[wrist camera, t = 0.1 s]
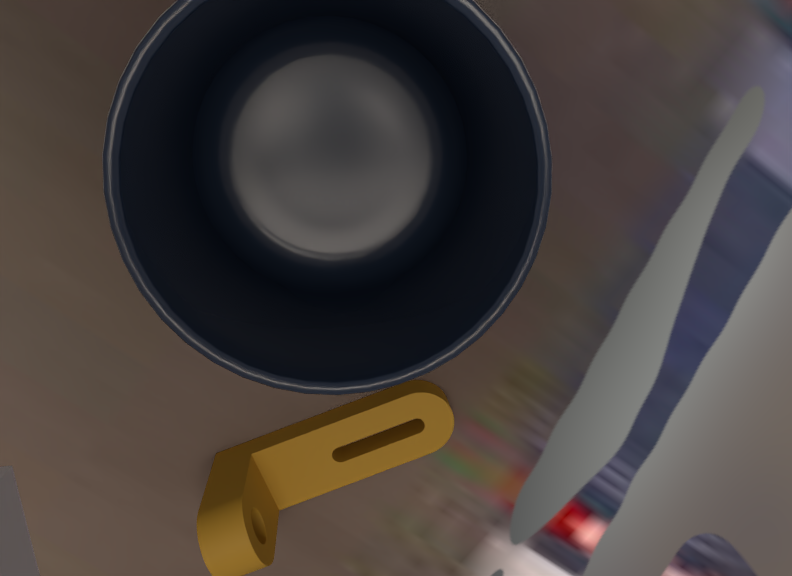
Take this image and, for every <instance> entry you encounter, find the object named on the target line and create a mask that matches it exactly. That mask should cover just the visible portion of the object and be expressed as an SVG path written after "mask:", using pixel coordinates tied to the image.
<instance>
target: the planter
mask: <svg viewBox="0 0 792 576" xmlns="http://www.w3.org/2000/svg"><path fill="white" fill-rule="evenodd" d="M102 162H103V192H104V197H105V202H106V207H107V212H108V218H109V223H110V227H111V230H112V233H113V236H114V238H115V241H116V244H117V247H118V249H119V252H120V255H121V258H122V260H123V262H124V264H125V266H126V268H127V269H128V271H129V273H130V275H131V277H132V278H133V280H134V282H135V284H136V286H137V288H138V289H139V291H140V292H141V294H142V295H143V296H144V298H145V299H146V300H147V302H148V303H149V304H150V305H151V307H152V308H153V309H154V311H155V312H156V313H157V315H158V316H159V317H160V318H161V320H163V321H164V322H165V323H166V324H167V325H168V326H169V327H170V328H171V329H172V330H173V331H174V332H175V333H176V334H177V335H178V336H179V337H180V338H181V339H182V340H183V341H184V342H185V343H187V344H188V345H190V346H191V347H192V348H194V349H195V350H197V351H198V352H199V353H201V354H202V355H204V356H205V357H206V358H208V359H209V360H211V361H212V362H214V363H216V364H218V365H220V366H222V367H224V368H225V369H227V370H229V371H231V372H233V373H235V374H237V375H239V376H241V377H243V378H246V379H249V380H252V381H255V382H258V383H261V384H264V385H267V386H270V387H273V388H277V389H283V390H288V391H294V392H299V393H304V394H324V395H343V394H353V393H363V392H371V391H375V390H379V389H383V388H387V387H391V386H395V385H399V384H402V383H404V382H407V381H409V380H412V379H414V378H416V377H419V376H421V375H424V374H426V373H429V372H431V371H432V370H434V369H436V368H437V367H439V366H441V365H443V364H444V363H446V362H448V361H449V360H451V359H453V358H455V357H456V356H458V355H459V354H460V353H461V352H463V351H464V350H465V349H466V348H468V347H469V346H470V345H471V344H473V343H474V342H475V341H476V340H478V339H479V338H480V337H481V336H482V335H483V334H484V333H485V332H486V331H487V330H488V329H489V328H490V327H491V326H492V325H493V324H494V322H495V321H496V320H497V319H498V318H499V317H500V316H501V315H502V314H503V313H504V311H505V310H506V308H507V307H508V306H509V304H510V303H511V301H512V300H513V298H514V297H515V295H516V294H517V293H518V291H519V290H520V288H521V287H522V285H523V283H524V281H525V279H526V277H527V275H528V273H529V271H530V269H531V267H532V265H533V263H534V261H535V259H536V256H537V253H538V250H539V247H540V244H541V241H542V238H543V234H544V231H545V228H546V224H547V218H548V212H549V206H550V200H551V194H552V155H551V147H550V140H549V133H548V126H547V122H546V119H545V115H544V112H543V109H542V105H541V102H540V99H539V96H538V92H537V89H536V87H535V85H534V83H533V81H532V79H531V77H530V75H529V73H528V71H527V69H526V67H525V65H524V63H523V61H522V58H521V57H520V55H519V54H518V53H517V51H516V50H515V48H514V47H513V45H512V44H511V43H510V41H509V40H508V38H507V37H506V35H505V34H504V33H503V31H502V30H501V28H500V27H499V26H498V25H497V24H496V23H495V22H494V21H493V20H492V19H491V18H490V17H489V16H488V15H487V14H486V13H485V12H484V11H483V9H482V8H481V7H480V6H479V5H478V4H477V3H476V2H475V1H474V0H177V1H176V2H175V3H173V4H172V5H171V6H170V7H169V8H168V9H167V10H166V11H165V12H164V13H163V14H162V15H161V16H159V18H158V19H157V20H156V22H155V23H154V24H153V26H152V27H151V28H150V30H149V31H148V32H147V33H146V35H145V36H144V37H143V39H142V40H141V41H140V43H139V44H138V45H137V47H136V48H135V50H134V52H133V54H132V56H131V58H130V60H129V62H128V64H127V66H126V68H125V70H124V72H123V74H122V76H121V78H120V80H119V82H118V85H117V88H116V91H115V94H114V97H113V101H112V104H111V107H110V110H109V113H108V117H107V123H106V131H105V138H104V145H103V153H102Z"/></svg>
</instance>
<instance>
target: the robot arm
mask: <svg viewBox="0 0 792 576" xmlns="http://www.w3.org/2000/svg"><path fill="white" fill-rule="evenodd" d="M0 576H40V574H39V570H38V566H37V562H36V558H35V554H34V550H33V546H32V542H31V538H30V534H29V531H28V527H27V523H26V519H25V515H24V511H23V507H22V503H21V499H20V495H19V491H18V487H17V483H16V479H15V475H14V472H13V468H12V466H3V467H0Z"/></svg>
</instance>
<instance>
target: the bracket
mask: <svg viewBox="0 0 792 576" xmlns="http://www.w3.org/2000/svg"><path fill="white" fill-rule="evenodd" d="M416 418H417V419H416ZM412 419H415V420H412ZM410 420H412V421H410ZM407 421H410V422H407ZM404 422H407V423H404ZM402 423H404V424H402ZM399 424H402V425H399ZM396 425H399V426H396ZM394 426H396V427H394ZM391 427H394V428H391ZM388 428H391V429H388ZM453 428H454V416H453V413H452V410H451V408H450V405H449V403H448V400H447V398H446V396H445V394H444V392H443V391H442V390H441V389H440V388H439V387H438V386H436V385H435V384H433V383H430V382H428V381H423V380H412V381H407V382H404V383H402V384H399V385H396V386H393V387H391V388H388V389H386V390H383V391H380V392H378V393H375V394H372V395H370V396H367V397H364V398H362V399H359V400H356V401H354V402H351V403H348V404H346V405H343V406H340V407H338V408H335V409H333V410H330V411H327V412H325V413H322V414H319V415H317V416H314V417H311V418H309V419H306V420H303V421H301V422H298V423H295V424H293V425H290V426H287V427H285V428H282V429H280V430H277V431H274V432H272V433H269V434H266V435H264V436H261V437H258V438H256V439H253V440H250V441H248V442H245V443H242V444H240V445H237V446H234V447H232V448H229V449H226V450H224V451H221V452H219V453H216V455H215V459H214V462H213V465H212V469H211V472H210V475H209V478H208V482H207V485H206V488H205V492H204V495H203V498H202V501H201V505H200V508H199V511H198V516H197V535H198V541H199V546H200V550H201V553H202V556H203V559H204V561H205V564H206V566H207V568H208V570H209V571H210V573H211V574H212V576H243V575H245V574H248V573H251V572H253V571H256V570H259V569H261V568H264V567H267V566H269V565H271V564H272V562H273V559H274V553H275V544H276V534H277V525H278V516H279V510H282V509H284V508H287V507H290V506H292V505H295V504H297V503H300V502H303V501H305V500H308V499H311V498H313V497H316V496H319V495H321V494H324V493H327V492H329V491H332V490H335V489H337V488H340V487H343V486H345V485H348V484H351V483H353V482H356V481H358V480H361V479H364V478H366V477H369V476H372V475H374V474H377V473H380V472H382V471H385V470H388V469H390V468H393V467H396V466H398V465H401V464H404V463H406V462H409V461H412V460H414V459H417V458H419V457H422V456H425V455H427V454H430V453H432V452H434V451H436V450H438V449H439V448H441V447H442V446H443V445H444V444H445V443H446V442H447V441H448V439H449V438H450V436H451V434H452V431H453ZM386 429H388V430H386ZM383 430H386V431H383ZM381 431H383V432H381ZM378 432H380V433H378ZM375 433H378V434H375ZM373 434H375V435H373ZM370 435H373V436H370ZM367 436H370V437H367ZM365 437H367V438H365ZM362 438H365V439H362ZM359 439H362V440H359ZM357 440H359V441H357ZM354 441H357V442H354ZM351 442H354V443H351ZM349 443H351V444H349ZM346 444H349V445H346ZM343 445H346V446H343ZM341 446H343V447H341Z"/></svg>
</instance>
